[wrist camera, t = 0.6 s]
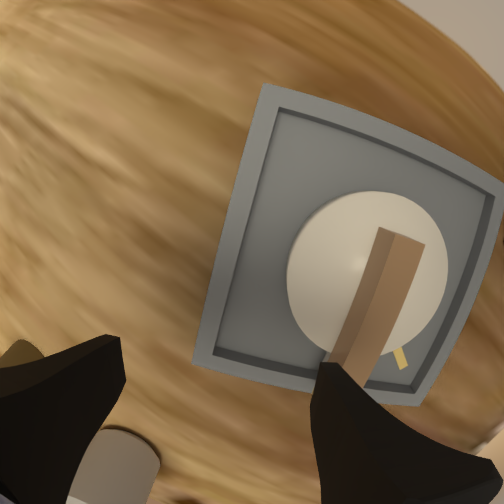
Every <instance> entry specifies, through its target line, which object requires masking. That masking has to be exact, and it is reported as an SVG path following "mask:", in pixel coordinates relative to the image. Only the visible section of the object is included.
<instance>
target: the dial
mask: <svg viewBox="0 0 504 504" xmlns="http://www.w3.org/2000/svg"><path fill="white" fill-rule="evenodd" d="M447 275H448V257H447V250H446V246H445V242H444V239H443V237H442V234H441V232H440V230H439V228H438V227H437V225H436V223H435V222H434V220H433V219H432V218H431V216H430V215H429V214H428V213H427V212H426V211H425V210H424V209H423V208H422V207H420V206H419V205H417V204H416V203H415V202H413V201H411V200H409V199H407V198H405V197H403V196H400V195H396V194H393V193H387V192H379V191H355V192H350V193H346V194H343V195H340V196H338V197H335V198H333V199H331V200H329V201H328V202H326V203H325V204H323V205H321V206H320V207H319V208H318V209H316V210H315V211H314V212H313V213H312V214H311V215H310V216H309V217H308V218H307V219H306V220H305V222H304V223H303V224H302V226H301V227H300V229H299V230H298V232H297V234H296V236H295V238H294V240H293V242H292V245H291V247H290V250H289V254H288V258H287V265H286V284H287V292H288V298H289V304H290V307H291V310H292V314H293V316H294V318H295V320H296V322H297V324H298V326H299V327H300V328H301V330H302V331H303V333H304V334H305V335H306V336H307V337H308V338H309V339H310V340H311V341H312V342H313V343H315V344H316V345H317V346H319V347H320V348H322V349H324V350H325V351H328V352H330V353H331V355H330V357H329V359H328V361H327V362H337V363H338V364H339V365H340V366H341V367H342V368H343V369H344V370H345V371H346V372H347V373H348V374H349V375H350V376H351V377H352V379H353V380H354V381H355V382H356V383H357V384H358V385H359V386H360V387H361V388H362V389H363V387H364V385H365V383H366V381H367V380H368V378H369V376H370V374H371V372H372V370H373V368H374V366H375V364H376V362H377V360H378V358H379V356H380V355H384V354H386V353H389V352H392V351H394V350H396V349H398V348H400V347H401V346H403V345H405V344H406V343H408V342H409V341H410V340H412V339H413V338H414V337H415V336H416V335H418V334H419V333H420V332H421V331H422V330H423V329H424V327H425V326H426V325H427V324H428V322H429V321H430V320H431V318H432V317H433V315H434V314H435V312H436V310H437V308H438V306H439V304H440V302H441V300H442V297H443V294H444V291H445V287H446V283H447ZM313 391H314V389H313ZM313 391H312V395H313Z"/></svg>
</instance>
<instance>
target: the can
mask: <svg viewBox="0 0 504 504" xmlns="http://www.w3.org/2000/svg"><path fill="white" fill-rule="evenodd" d="M159 468H160V462H159V458H158V457H157V456H156V454H155V453H154V451H153V450H152V448H151V447H150V446H149V445H148V444H147V443H146V442H145V441H144V440H142V439H141V438H139V437H138V436H136V435H134V434H131V433H129V432H126V431H123V430H117V429H112V430H110V429H104V430H101V431H99V432H98V433H97V434H96V435H95V437H94V438H93V440H92V441H91V443H90V444H89V446H88V448H87V450H86V452H85V454H84V456H83V458H82V461H81V463H80V465H79V467H78V470H77V472H76V475H75V477H74V480H73V483H72V485H71V488H70V492H69V495H68V498H67V501H66V504H146V502H147V499H148V496H149V494H150V491H151V488H152V486H153V483H154V481H155V478H156V475H157V473H158V470H159Z"/></svg>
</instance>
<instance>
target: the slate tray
mask: <svg viewBox="0 0 504 504" xmlns="http://www.w3.org/2000/svg"><path fill="white" fill-rule="evenodd" d="M355 191H379V192H387V193H393V194H396V195H400V196H403V197H405V198H407V199H409V200H411V201H413V202H415V203H416V204H417V205H419V206H420V207H422V208H423V209H424V210H425V211H426V212H427V213H428V214H429V215H430V216H431V218H432V219H433V220H434V222H435V223H436V225H437V227H438V228H439V230H440V232H441V234H442V237H443V239H444V242H445V246H446V250H447V257H448V275H447V283H446V287H445V291H444V294H443V297H442V300H441V302H440V304H439V306H438V308H437V310H436V312H435V314H434V315H433V317H432V318H431V320H430V321H429V322H428V324H427V325H426V326H425V327H424V329H423V330H422V331H421V332H420V333H419V334H418V335H416V336H415V337H414V338H413V339H412V340H410V341H409V342H408V343H406V344H405V345H403V346H401V347H400V348H398V349H396V350H394V351H392V352H389V353H386V354H384V355H380V356H379V358H378V360H377V362H376V364H375V366H374V368H373V370H372V372H371V374H370V376H369V378H368V380H367V381H366V383H365V385H364V387H363V390H364V391H365V392H366V393H367V394H368V395H369V396H370V397H372V398H373V399H374V400H375V401H376V402H377V403H383V404H393V405H405V406H419V405H420V404H421V402H422V401H423V399H424V398H425V396H426V395H427V393H428V391H429V390H430V388H431V386H432V385H433V383H434V381H435V380H436V378H437V376H438V375H439V373H440V371H441V369H442V367H443V366H444V364H445V362H446V360H447V358H448V356H449V355H450V353H451V351H452V349H453V347H454V345H455V343H456V341H457V339H458V337H459V335H460V333H461V331H462V328H463V326H464V324H465V322H466V320H467V318H468V315H469V313H470V311H471V308H472V306H473V304H474V301H475V299H476V296H477V294H478V291H479V289H480V286H481V283H482V281H483V278H484V275H485V272H486V270H487V267H488V264H489V261H490V258H491V254H492V251H493V248H494V245H495V241H496V238H497V234H498V231H499V227H500V223H501V219H502V215H503V211H504V183H502V182H501V181H499V180H498V179H496V178H495V177H493V176H491V175H490V174H488V173H487V172H485V171H483V170H482V169H480V168H478V167H477V166H475V165H473V164H471V163H470V162H468V161H466V160H464V159H463V158H461V157H459V156H457V155H455V154H453V153H452V152H450V151H448V150H446V149H444V148H442V147H440V146H438V145H436V144H434V143H432V142H430V141H428V140H426V139H424V138H422V137H420V136H418V135H415V134H413V133H411V132H409V131H407V130H404V129H402V128H400V127H397V126H395V125H393V124H390V123H388V122H386V121H383V120H381V119H378V118H376V117H373V116H371V115H368V114H365V113H363V112H360V111H357V110H355V109H352V108H349V107H346V106H343V105H340V104H337V103H334V102H331V101H328V100H325V99H322V98H319V97H315V96H312V95H309V94H305V93H302V92H298V91H295V90H291V89H287V88H283V87H279V86H275V85H271V84H267V83H263V86H262V89H261V92H260V96H259V99H258V102H257V106H256V109H255V113H254V116H253V120H252V123H251V127H250V130H249V134H248V137H247V141H246V144H245V148H244V151H243V155H242V159H241V162H240V166H239V170H238V173H237V177H236V181H235V184H234V188H233V192H232V196H231V199H230V203H229V207H228V211H227V215H226V219H225V223H224V226H223V230H222V234H221V238H220V242H219V246H218V250H217V254H216V258H215V262H214V267H213V271H212V275H211V279H210V283H209V287H208V292H207V296H206V300H205V304H204V309H203V313H202V317H201V322H200V326H199V331H198V335H197V340H196V344H195V349H194V353H193V358H192V363H191V364H194V365H197V366H200V367H204V368H207V369H211V370H214V371H218V372H221V373H225V374H229V375H232V376H236V377H240V378H244V379H248V380H252V381H256V382H260V383H264V384H269V385H273V386H278V387H282V388H287V389H292V390H297V391H302V392H307V393H312V391H313V389H314V387H315V383H316V378H317V374H318V369H319V365H320V362H327V361H328V359H329V357H330V355H331V353H330V352H328V351H325V350H324V349H322V348H320V347H319V346H317V345H316V344H315V343H313V342H312V341H311V340H310V339H309V338H308V337H307V336H306V335H305V334H304V333H303V331H302V330H301V328H300V327H299V326H298V324H297V322H296V320H295V318H294V316H293V314H292V310H291V307H290V304H289V298H288V292H287V284H286V265H287V258H288V254H289V250H290V247H291V245H292V242H293V240H294V238H295V236H296V234H297V232H298V230H299V229H300V227H301V226H302V224H303V223H304V222H305V220H306V219H307V218H308V217H309V216H310V215H311V214H312V213H313V212H314V211H315V210H316V209H318V208H319V207H320V206H321V205H323V204H325V203H326V202H328V201H329V200H331V199H333V198H335V197H338V196H340V195H343V194H346V193H350V192H355Z"/></svg>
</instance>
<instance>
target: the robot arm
mask: <svg viewBox="0 0 504 504" xmlns="http://www.w3.org/2000/svg"><path fill="white" fill-rule="evenodd" d="M125 383H126V376H125V370H124V364H123V357H122V350H121V342H120V337H117V336H112V335H108V334H105V335H102V336H99V337H96V338H93V339H91V340H88V341H86V342H83V343H81V344H79V345H76V346H74V347H71V348H69V349H66V350H64V351H61V352H59V353H56V354H53V355H50V356H47V357H45V358H42V359H39V360H36V361H32V362H29V363H25V364H20V365H16V366H11V367H4V368H0V504H66V501H67V498H68V495H69V492H70V488H71V485H72V483H73V480H74V477H75V475H76V472H77V470H78V467H79V465H80V463H81V461H82V458H83V456H84V454H85V452H86V450H87V448H88V446H89V444H90V442H91V441H92V439H93V438H94V436H95V434H96V433H97V431H98V430H99V428H100V427H101V425H102V424H103V422H104V421H105V419H106V418H107V416H108V415H109V413H110V412H111V410H112V408H113V407H114V405H115V404H116V402H117V400H118V398H119V396H120V394H121V392H122V390H123V387H124V385H125ZM310 420H311V432H312V438H313V443H314V449H315V454H316V460H317V466H318V471H319V477H320V485H321V504H489V503H490V502H491V501H492V500H493V498H494V497H495V496H496V495H497V494H498V492H499V491H500V489H501V487H502V485H503V479H502V477H501V476H500V474H499V472H498V471H497V469H496V467H495V465H494V464H493V462H492V460H490V459H486V458H482V457H478V456H474V455H471V454H467V453H463V452H460V451H458V450H455V449H452V448H450V447H447V446H445V445H442V444H440V443H438V442H436V441H434V440H432V439H430V438H428V437H426V436H424V435H422V434H420V433H418V432H417V431H415V430H413V429H412V428H410V427H409V426H407V425H406V424H404V423H403V422H401V421H400V420H398V419H397V418H395V417H394V416H393V415H391V414H390V413H389V412H388V411H386V410H385V409H384V408H383V407H382V406H381V405H379V404H378V403H377V402H376V401H375V400H374V399H373V398H372V397H370V396H369V395H368V394H367V393H366V392H365V391H364V390H363V389H362V388H361V387H360V386H359V385H358V384H357V383H356V382H355V381H354V380H353V379H352V377H351V376H350V375H349V374H348V373H347V372H346V371H345V370H344V369H343V368H342V367H341V366H340V365H339V364H338V363H337V362H320V365H319V369H318V374H317V378H316V383H315V387H314V391H313V395H312V399H311V403H310Z"/></svg>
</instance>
